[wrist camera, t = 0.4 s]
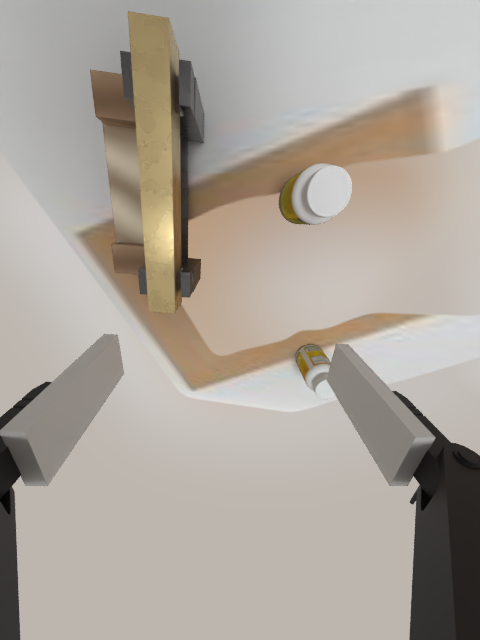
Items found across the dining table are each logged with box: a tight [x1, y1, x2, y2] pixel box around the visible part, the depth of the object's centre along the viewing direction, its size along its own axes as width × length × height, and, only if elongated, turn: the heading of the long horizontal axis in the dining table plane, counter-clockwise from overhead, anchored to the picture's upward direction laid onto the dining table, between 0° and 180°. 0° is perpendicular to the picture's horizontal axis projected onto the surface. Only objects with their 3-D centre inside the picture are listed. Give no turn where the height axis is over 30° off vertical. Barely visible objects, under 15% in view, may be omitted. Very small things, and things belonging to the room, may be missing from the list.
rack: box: [120, 51, 204, 297], centre depth 28 cm, size 22×6×10 cm, turn 175°
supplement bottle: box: [296, 345, 336, 400], centre depth 40 cm, size 5×5×10 cm
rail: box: [128, 11, 182, 313], centre depth 24 cm, size 24×3×4 cm, turn 175°
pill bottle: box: [279, 163, 352, 225], centre depth 28 cm, size 6×6×11 cm
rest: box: [90, 70, 145, 275], centre depth 31 cm, size 22×7×3 cm, turn 175°
